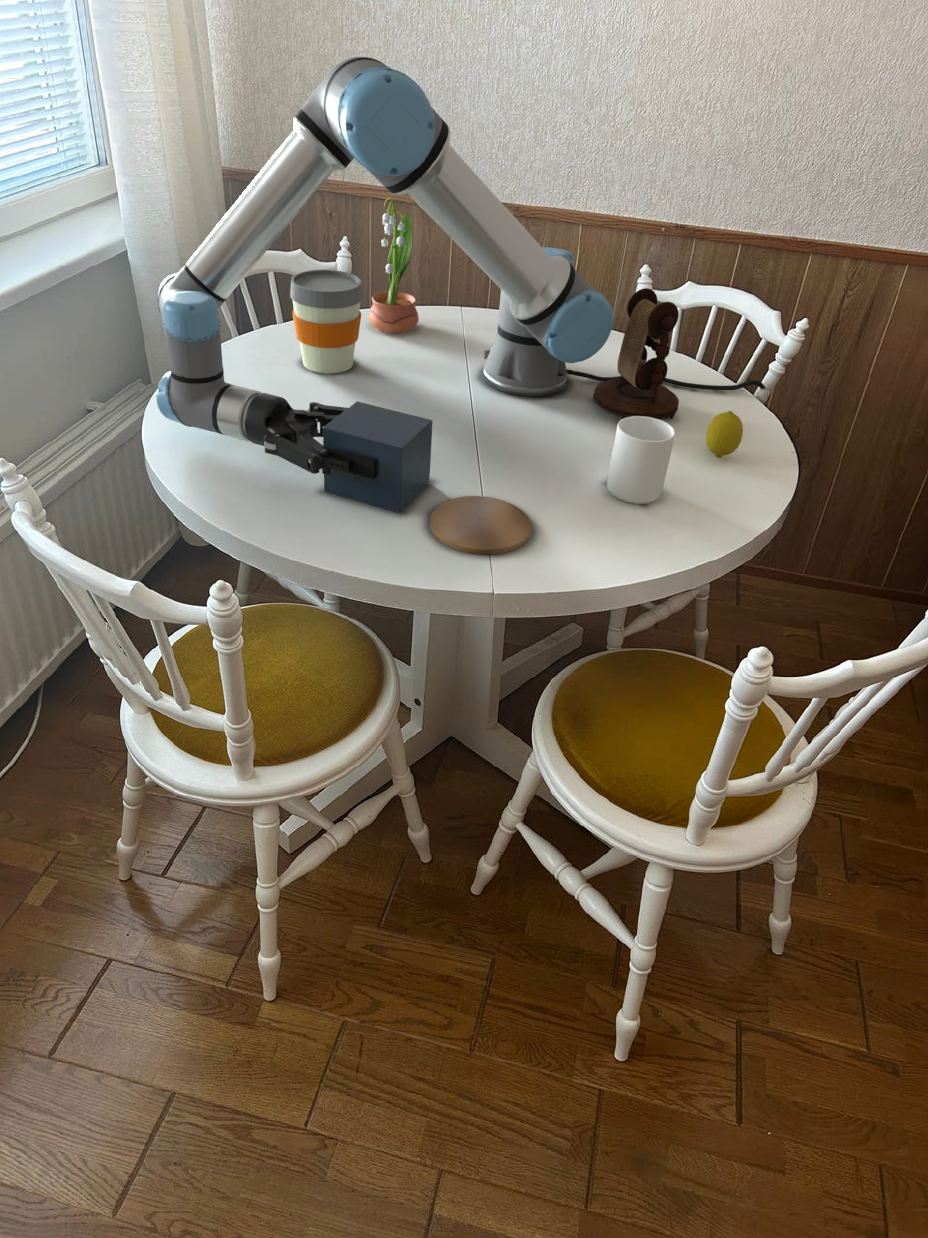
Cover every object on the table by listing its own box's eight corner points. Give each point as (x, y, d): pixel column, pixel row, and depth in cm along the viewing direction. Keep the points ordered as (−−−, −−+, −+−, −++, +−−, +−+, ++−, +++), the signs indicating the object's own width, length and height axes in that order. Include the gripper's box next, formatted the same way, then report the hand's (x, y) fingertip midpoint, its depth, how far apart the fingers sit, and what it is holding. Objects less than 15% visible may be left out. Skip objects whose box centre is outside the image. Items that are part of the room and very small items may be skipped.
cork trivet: (510, 496, 134) (511, 491, 134) (545, 548, 124) (546, 543, 123) (418, 505, 130) (418, 500, 130) (446, 559, 120) (446, 554, 119)
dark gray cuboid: (323, 491, 132) (322, 427, 125) (356, 462, 139) (356, 400, 133) (399, 513, 128) (402, 448, 122) (429, 482, 136) (432, 419, 130)
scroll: (577, 396, 165) (594, 282, 153) (648, 388, 170) (670, 278, 157) (617, 432, 154) (640, 313, 142) (692, 423, 159) (719, 307, 147)
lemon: (737, 453, 151) (749, 408, 146) (733, 468, 147) (746, 421, 142) (703, 446, 152) (714, 401, 147) (698, 460, 148) (710, 414, 143)
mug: (588, 468, 143) (599, 406, 137) (637, 464, 145) (649, 403, 139) (619, 507, 134) (631, 443, 128) (670, 503, 136) (685, 439, 130)
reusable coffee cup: (278, 364, 166) (274, 280, 157) (322, 345, 175) (320, 264, 166) (333, 383, 161) (332, 297, 152) (376, 362, 170) (377, 280, 161)
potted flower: (409, 342, 179) (413, 205, 164) (359, 335, 181) (359, 198, 165) (423, 322, 189) (429, 191, 174) (376, 315, 190) (377, 184, 175)
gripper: (297, 412, 146) (424, 445, 140) (213, 472, 129) (354, 512, 123) (295, 367, 142) (427, 399, 136) (208, 423, 125) (354, 462, 119)
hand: (392, 453), depth 129 cm, fingers closed on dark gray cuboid, 10 cm apart
